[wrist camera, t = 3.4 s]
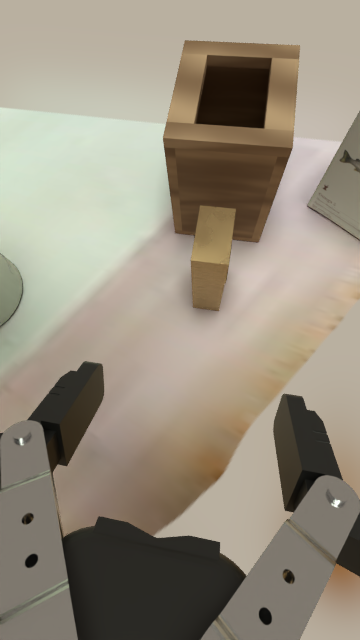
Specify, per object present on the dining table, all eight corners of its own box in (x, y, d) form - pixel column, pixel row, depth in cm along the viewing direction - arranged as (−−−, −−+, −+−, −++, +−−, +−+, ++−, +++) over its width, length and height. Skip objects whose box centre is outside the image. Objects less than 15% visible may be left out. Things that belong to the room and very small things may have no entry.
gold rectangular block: (219, 311, 30) (230, 265, 20) (192, 307, 30) (189, 260, 21) (225, 270, 31) (237, 209, 22) (198, 267, 31) (198, 205, 22)
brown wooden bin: (258, 242, 32) (292, 148, 20) (175, 233, 33) (162, 137, 21) (266, 166, 35) (299, 45, 23) (189, 159, 35) (184, 40, 24)
